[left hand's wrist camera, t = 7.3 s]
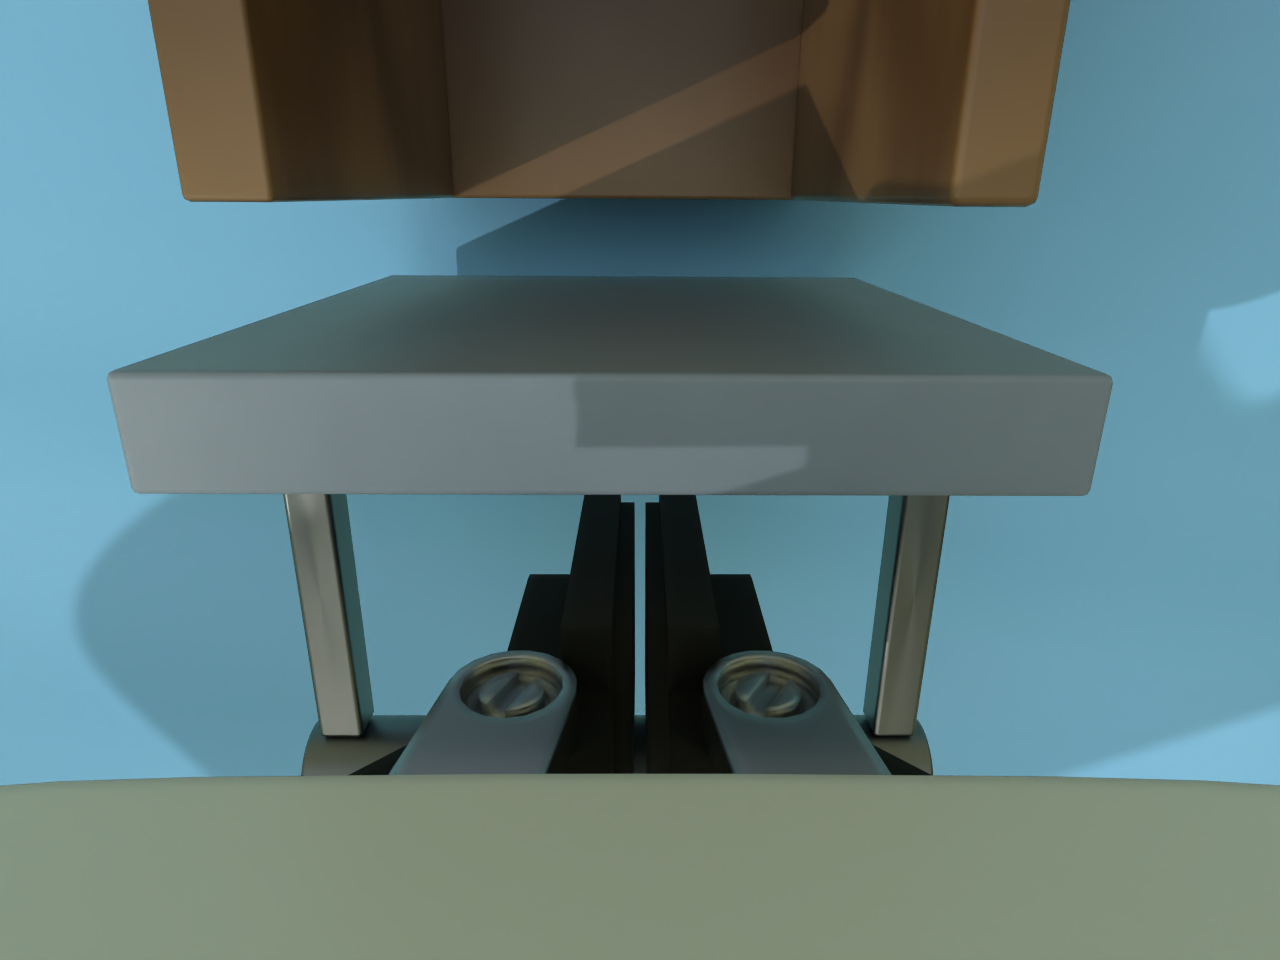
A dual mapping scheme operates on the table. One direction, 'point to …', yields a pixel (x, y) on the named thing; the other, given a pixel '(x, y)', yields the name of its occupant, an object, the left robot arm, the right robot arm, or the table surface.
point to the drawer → (609, 284)
